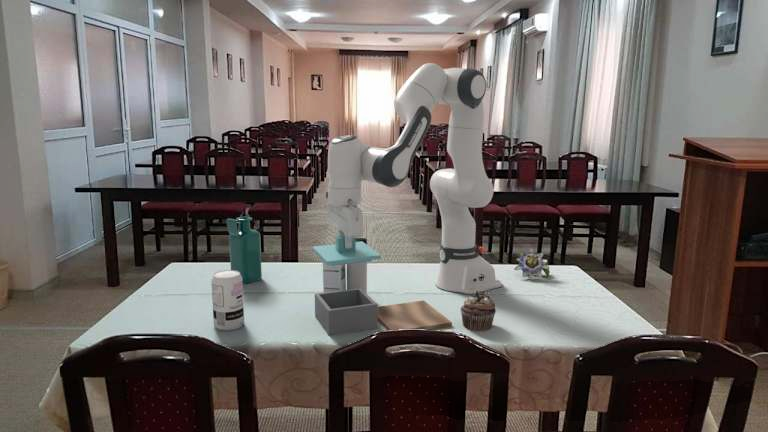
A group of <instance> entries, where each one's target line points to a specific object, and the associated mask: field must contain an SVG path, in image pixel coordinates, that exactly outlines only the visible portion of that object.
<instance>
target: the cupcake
mask: <svg viewBox="0 0 768 432" xmlns="http://www.w3.org/2000/svg"><path fill="white" fill-rule="evenodd" d="M496 312H497V311H496V303H495V302H494V300H493V299H492V298H491V294H490V292H489V291H481V293H480V292H478V291H476V292H475V293H472V294H471V295H470V296H468V297H467V298H465V299H464V300H463V305H462V306H461V307H460V314H461V320H462V326H463V328H464V329H466V330H469V331H473V332H485V331H489V330H490V329H491V328H492V326H493V322H494V318H495V315H496Z"/></svg>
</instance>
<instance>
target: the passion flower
mask: <svg viewBox="0 0 768 432" xmlns="http://www.w3.org/2000/svg"><path fill="white" fill-rule="evenodd" d="M543 256H544V253H543V252H540V253H535V250H533V248H531V247H530V248H529V249H528V251H526V252H523V253H522V252H519V253H517V254H516V257H517V258H515V261H517V262H519V263H518V265H516V266H515V267H514V271H521V272H522V276H523V277H522V278H525V277H527V278H528V279H529V281H531V280H533V279H534V276H535V275H536V276H537V277H539V278H541V277H542V275H543V274H542V271H543V272H544V273H545V275H546V277H549V276H550V265H548V260H547V259H544V258H543Z"/></svg>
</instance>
